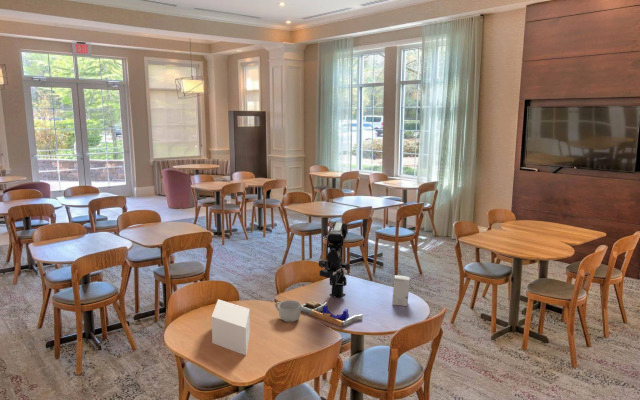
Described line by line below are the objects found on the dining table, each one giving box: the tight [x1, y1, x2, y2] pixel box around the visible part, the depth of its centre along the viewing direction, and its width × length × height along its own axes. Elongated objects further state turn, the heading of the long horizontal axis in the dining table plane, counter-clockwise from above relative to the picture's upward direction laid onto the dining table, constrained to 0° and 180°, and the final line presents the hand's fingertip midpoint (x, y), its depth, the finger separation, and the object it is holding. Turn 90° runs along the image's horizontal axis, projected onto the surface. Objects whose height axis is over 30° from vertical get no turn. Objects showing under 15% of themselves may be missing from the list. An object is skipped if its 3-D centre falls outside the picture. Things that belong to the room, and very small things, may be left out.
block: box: [211, 299, 251, 356], centre depth 212 cm, size 18×35×12 cm, turn 30°
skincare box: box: [392, 274, 411, 307], centre depth 254 cm, size 8×6×15 cm
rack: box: [301, 300, 363, 328], centre depth 239 cm, size 14×30×4 cm, turn 48°
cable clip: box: [322, 305, 350, 321], centre depth 235 cm, size 12×4×6 cm, turn 69°
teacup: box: [274, 299, 302, 323], centre depth 234 cm, size 14×11×8 cm
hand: (334, 285), depth 248 cm, fingers closed
